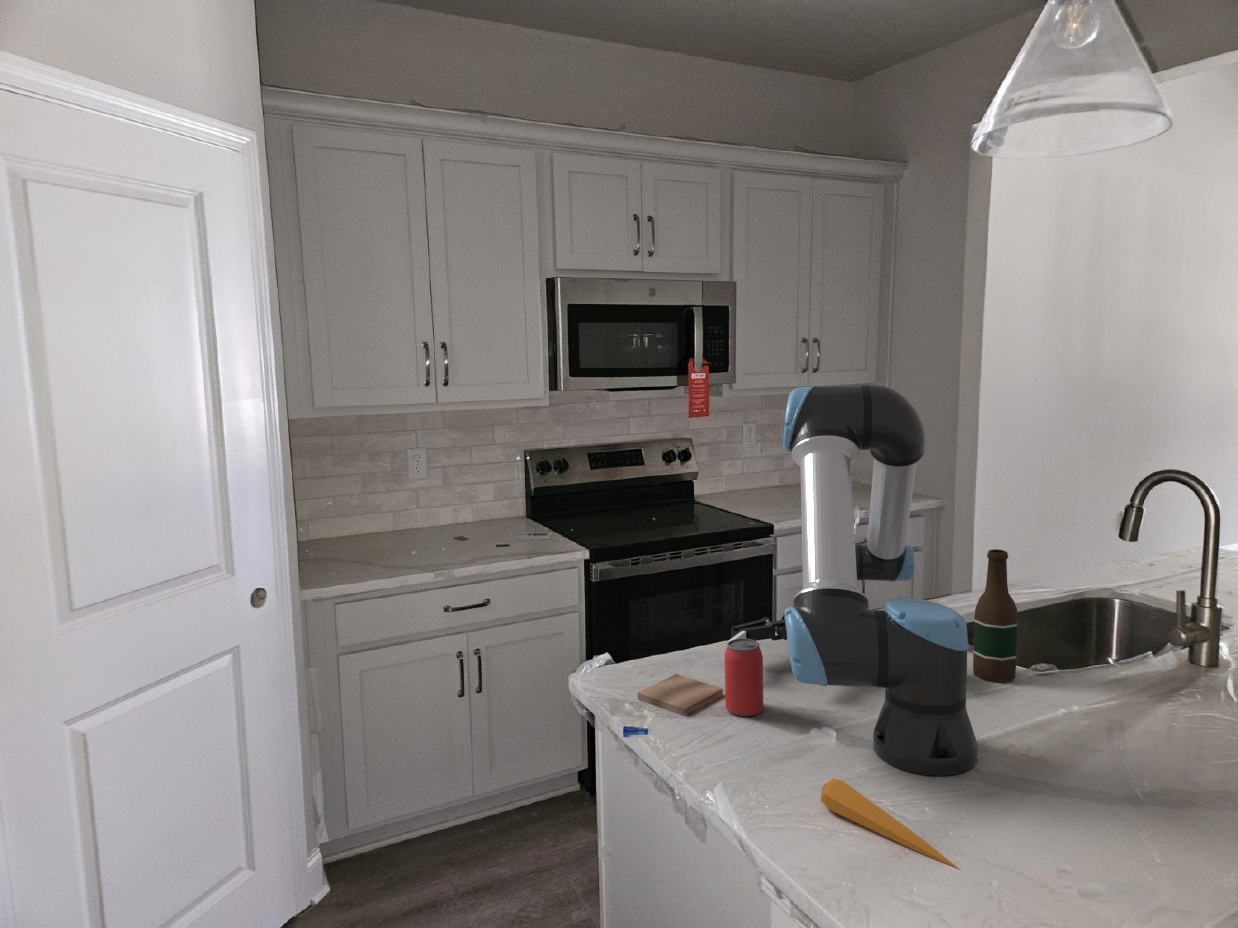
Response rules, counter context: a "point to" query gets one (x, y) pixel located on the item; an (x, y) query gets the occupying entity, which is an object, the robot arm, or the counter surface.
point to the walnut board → (680, 694)
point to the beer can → (743, 677)
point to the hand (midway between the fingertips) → (763, 654)
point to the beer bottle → (995, 625)
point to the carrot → (873, 817)
